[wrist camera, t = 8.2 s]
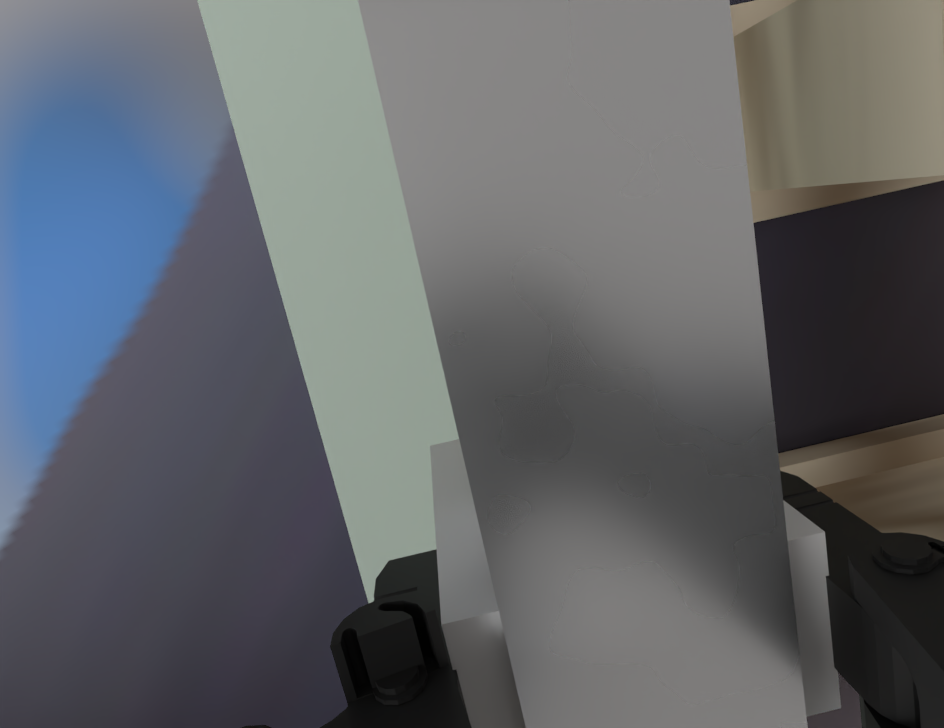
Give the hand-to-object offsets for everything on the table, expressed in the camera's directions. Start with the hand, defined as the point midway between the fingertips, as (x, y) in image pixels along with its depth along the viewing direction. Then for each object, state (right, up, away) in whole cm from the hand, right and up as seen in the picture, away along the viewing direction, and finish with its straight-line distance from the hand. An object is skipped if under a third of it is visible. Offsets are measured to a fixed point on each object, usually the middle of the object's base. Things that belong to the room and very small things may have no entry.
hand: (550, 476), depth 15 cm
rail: (0, -1, -3) cm, 3 cm away
